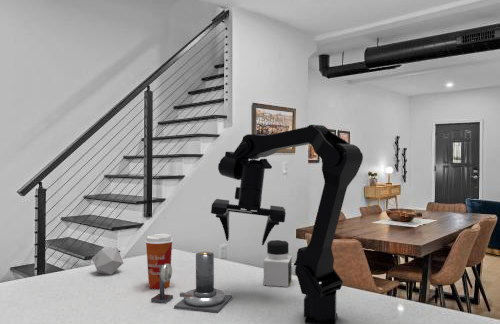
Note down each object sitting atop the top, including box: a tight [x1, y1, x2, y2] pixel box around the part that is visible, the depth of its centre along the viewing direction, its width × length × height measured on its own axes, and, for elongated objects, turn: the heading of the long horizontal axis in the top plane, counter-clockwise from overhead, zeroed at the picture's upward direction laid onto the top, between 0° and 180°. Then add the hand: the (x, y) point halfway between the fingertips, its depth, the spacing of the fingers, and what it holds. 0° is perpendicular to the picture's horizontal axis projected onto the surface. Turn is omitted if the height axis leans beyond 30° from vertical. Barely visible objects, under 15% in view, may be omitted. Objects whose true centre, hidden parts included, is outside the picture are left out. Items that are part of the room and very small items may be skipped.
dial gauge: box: [150, 264, 174, 304], centre depth 107 cm, size 4×4×9 cm
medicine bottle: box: [263, 239, 293, 288], centre depth 121 cm, size 7×7×12 cm
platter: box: [179, 288, 226, 306], centre depth 105 cm, size 11×10×1 cm
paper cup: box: [144, 233, 174, 290], centre depth 118 cm, size 8×8×14 cm
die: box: [91, 246, 124, 276], centre depth 132 cm, size 8×9×10 cm
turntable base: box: [173, 294, 234, 314], centre depth 105 cm, size 11×11×1 cm
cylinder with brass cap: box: [193, 251, 217, 298], centre depth 104 cm, size 6×6×10 cm
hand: (245, 242), depth 110 cm, fingers open, 9 cm apart
